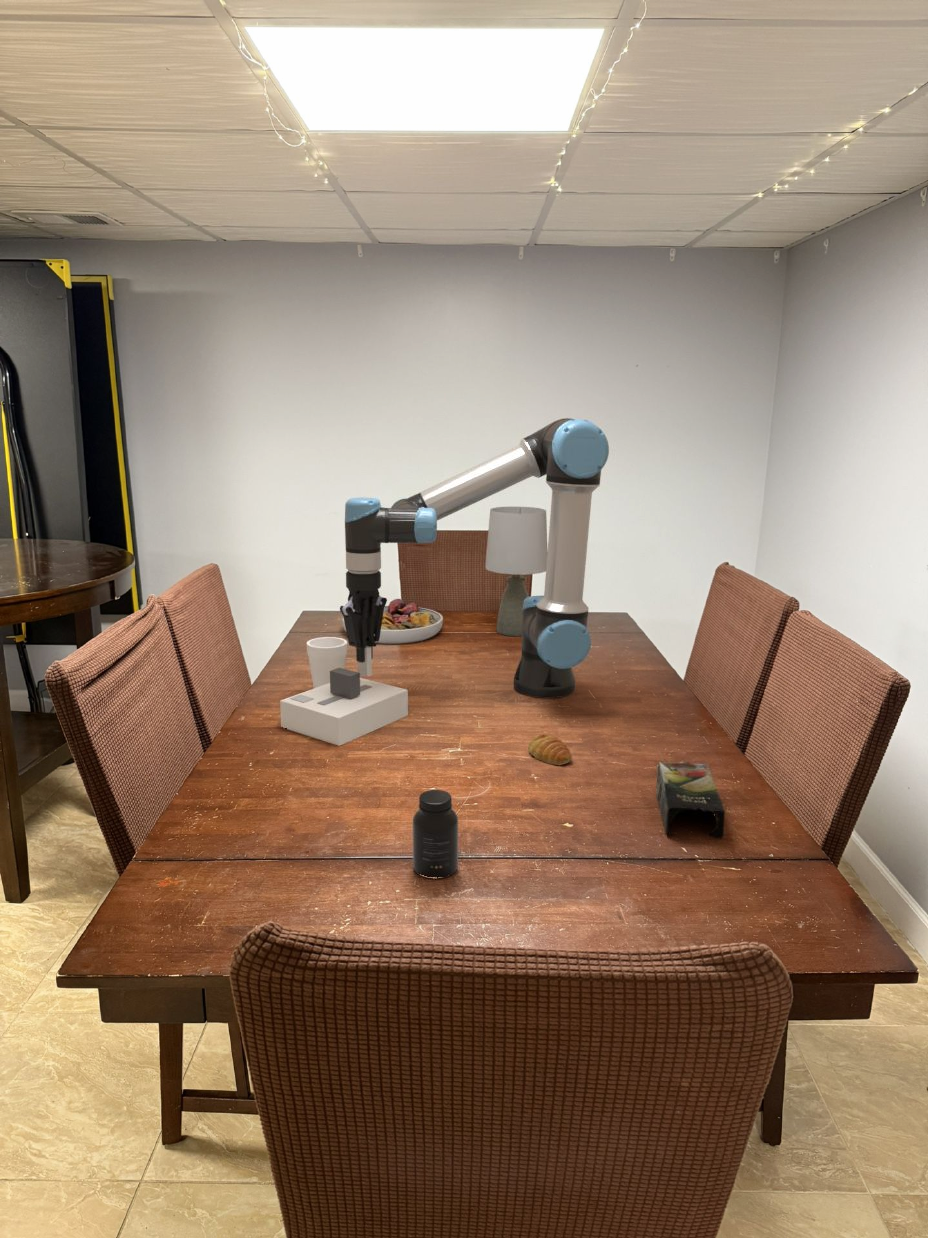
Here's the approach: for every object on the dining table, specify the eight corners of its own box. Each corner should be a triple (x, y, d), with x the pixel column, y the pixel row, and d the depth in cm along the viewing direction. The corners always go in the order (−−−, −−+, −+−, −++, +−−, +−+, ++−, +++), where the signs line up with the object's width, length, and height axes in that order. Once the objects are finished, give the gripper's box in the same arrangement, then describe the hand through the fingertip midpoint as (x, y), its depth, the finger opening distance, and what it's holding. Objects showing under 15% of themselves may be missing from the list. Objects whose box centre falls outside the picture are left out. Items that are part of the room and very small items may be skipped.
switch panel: (407, 715, 196) (407, 689, 194) (339, 746, 178) (338, 717, 177) (351, 699, 205) (350, 674, 204) (281, 727, 188) (280, 699, 186)
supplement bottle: (412, 858, 136) (412, 786, 133) (456, 856, 136) (457, 785, 133) (413, 881, 129) (413, 807, 126) (459, 880, 130) (460, 806, 127)
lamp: (487, 622, 276) (490, 505, 267) (546, 625, 274) (551, 506, 264) (480, 638, 258) (482, 513, 249) (543, 641, 256) (548, 515, 246)
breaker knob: (360, 694, 190) (359, 672, 188) (350, 698, 187) (350, 676, 186) (339, 689, 193) (339, 667, 192) (330, 692, 191) (329, 670, 189)
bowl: (440, 648, 249) (441, 621, 247) (335, 646, 249) (334, 619, 247) (444, 621, 278) (444, 597, 276) (349, 620, 278) (349, 595, 276)
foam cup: (340, 703, 203) (338, 649, 199) (302, 700, 204) (300, 646, 201) (353, 690, 212) (352, 638, 208) (317, 687, 213) (315, 635, 210)
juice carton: (652, 785, 163) (654, 755, 161) (706, 789, 162) (709, 758, 160) (663, 839, 143) (666, 805, 142) (724, 844, 142) (728, 810, 141)
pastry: (580, 762, 172) (580, 744, 171) (553, 770, 169) (554, 752, 168) (549, 747, 180) (550, 729, 179) (523, 754, 176) (524, 736, 175)
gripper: (370, 563, 196) (371, 664, 202) (329, 572, 186) (331, 678, 192) (396, 568, 192) (396, 671, 198) (355, 577, 182) (357, 685, 187)
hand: (364, 674), depth 195 cm, fingers closed
